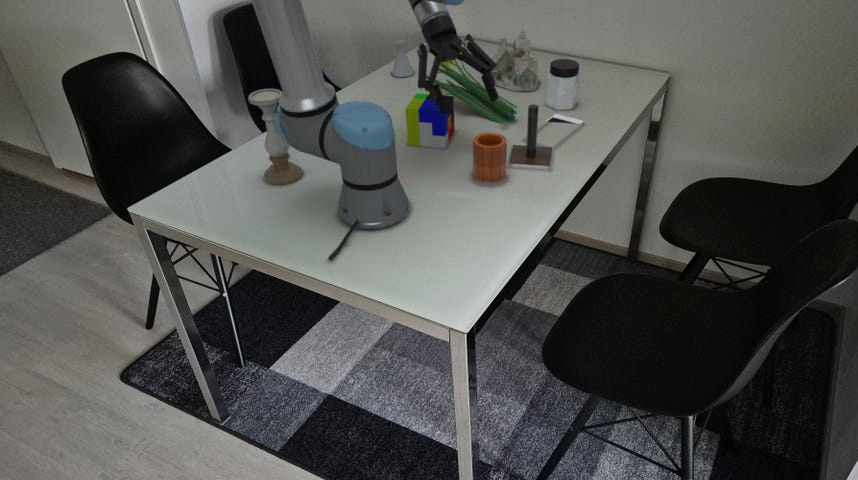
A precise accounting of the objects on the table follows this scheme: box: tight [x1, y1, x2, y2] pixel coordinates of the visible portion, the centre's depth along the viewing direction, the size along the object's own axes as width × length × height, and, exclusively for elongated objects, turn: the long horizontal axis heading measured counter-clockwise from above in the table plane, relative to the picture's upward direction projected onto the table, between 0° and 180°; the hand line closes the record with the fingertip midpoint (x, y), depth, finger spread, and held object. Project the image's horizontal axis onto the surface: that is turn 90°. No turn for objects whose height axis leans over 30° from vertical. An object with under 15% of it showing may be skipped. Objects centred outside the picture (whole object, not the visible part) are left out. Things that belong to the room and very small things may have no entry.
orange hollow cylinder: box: [472, 132, 508, 183], centre depth 147 cm, size 8×8×10 cm
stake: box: [508, 103, 553, 167], centre depth 153 cm, size 10×10×14 cm
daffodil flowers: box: [425, 52, 518, 126], centre depth 176 cm, size 17×15×35 cm
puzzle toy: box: [405, 92, 455, 149], centre depth 163 cm, size 10×10×10 cm
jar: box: [546, 58, 580, 111], centre depth 180 cm, size 9×8×12 cm
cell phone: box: [544, 113, 585, 125], centre depth 169 cm, size 9×18×1 cm, turn 146°
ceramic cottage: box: [490, 29, 540, 93], centre depth 193 cm, size 16×16×15 cm
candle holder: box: [247, 88, 303, 186], centre depth 145 cm, size 9×9×20 cm
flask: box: [391, 40, 414, 78], centre depth 200 cm, size 7×7×10 cm
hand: (471, 106), depth 145 cm, fingers open, 13 cm apart
